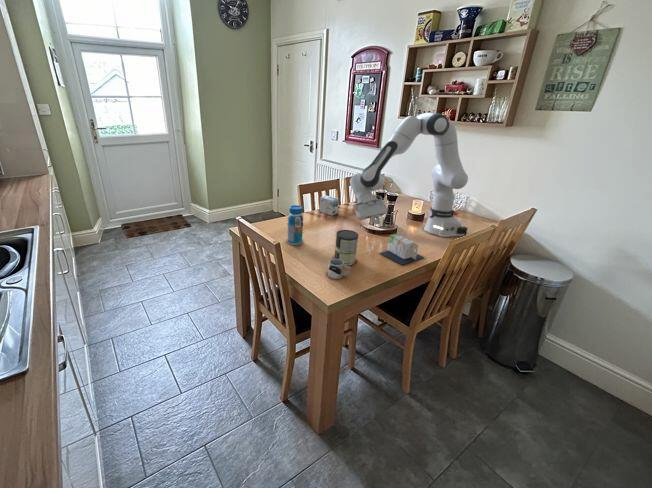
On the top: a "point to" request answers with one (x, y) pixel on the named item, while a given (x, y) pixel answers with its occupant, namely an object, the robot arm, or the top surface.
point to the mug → (337, 269)
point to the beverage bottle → (295, 225)
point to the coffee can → (346, 246)
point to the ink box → (402, 246)
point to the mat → (399, 259)
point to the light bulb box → (329, 205)
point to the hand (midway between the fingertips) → (377, 223)
